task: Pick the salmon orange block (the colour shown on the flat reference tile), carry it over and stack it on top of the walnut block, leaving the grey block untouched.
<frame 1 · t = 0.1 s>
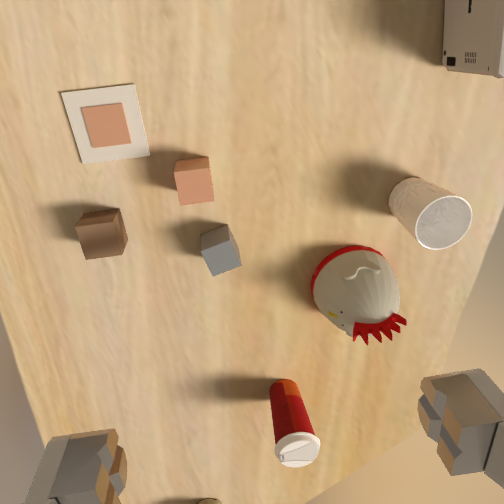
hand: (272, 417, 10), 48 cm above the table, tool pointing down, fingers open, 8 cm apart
paper cup: (283, 388, 78), on the table
grey block: (219, 241, 61), on the table
walnut block: (106, 226, 58), on the table
white cup: (408, 197, 61), on the table
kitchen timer: (350, 281, 68), on the table
reference tile: (108, 125, 51), on the table
salmon orange block: (195, 174, 56), on the table
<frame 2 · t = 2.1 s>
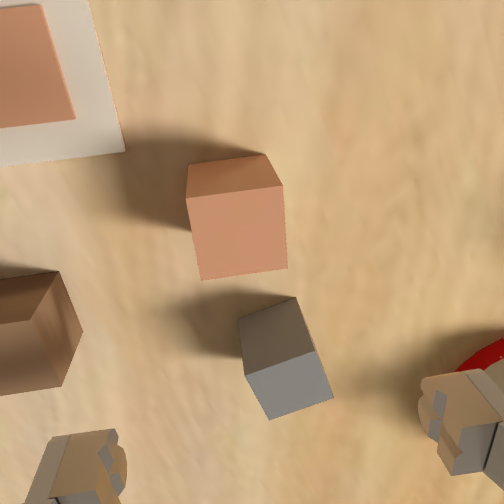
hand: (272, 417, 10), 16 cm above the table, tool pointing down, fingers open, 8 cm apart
grey block: (276, 330, 29), on the table
walnut block: (33, 307, 26), on the table
reference tile: (11, 70, 19), on the table
salmon orange block: (232, 195, 24), on the table
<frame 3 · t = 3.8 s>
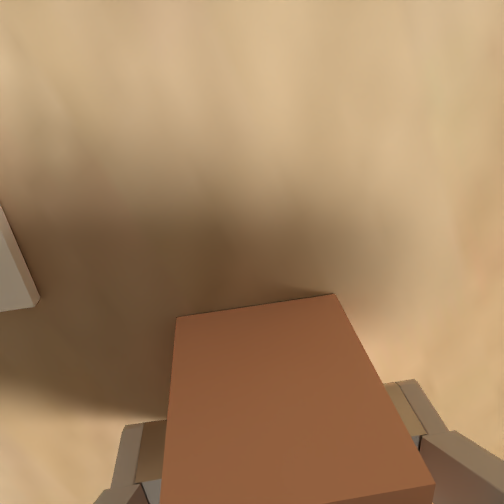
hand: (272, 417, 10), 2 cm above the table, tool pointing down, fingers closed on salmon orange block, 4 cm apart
salmon orange block: (263, 364, 12), on the table, touching gripper
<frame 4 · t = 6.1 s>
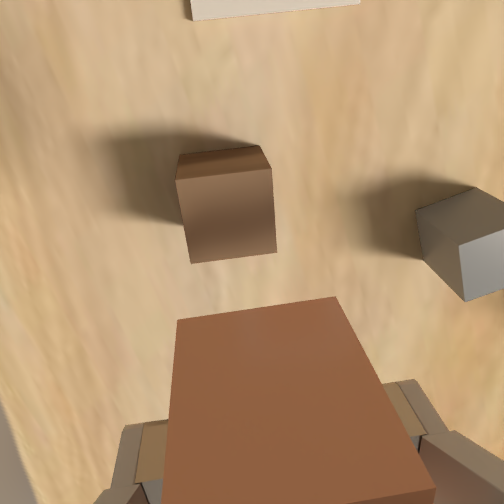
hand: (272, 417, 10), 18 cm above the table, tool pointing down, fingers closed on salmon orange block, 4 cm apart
grey block: (448, 225, 29), on the table
walnut block: (224, 187, 26), on the table
salmon orange block: (263, 366, 12), point 16 cm above the table, touching gripper
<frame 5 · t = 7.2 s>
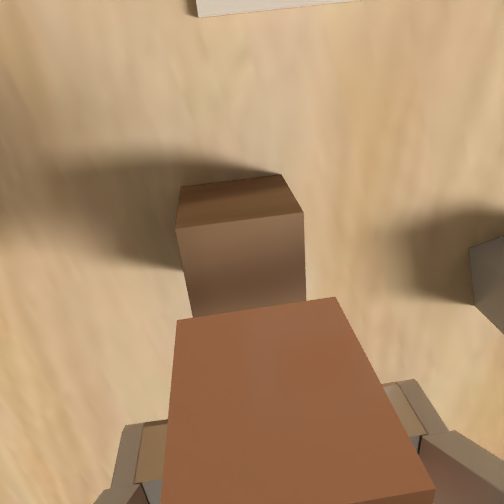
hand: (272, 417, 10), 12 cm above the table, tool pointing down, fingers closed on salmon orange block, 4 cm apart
walnut block: (236, 225, 21), on the table
salmon orange block: (263, 367, 12), point 10 cm above the table, touching gripper
when the fingers open (8 cm above the table, at t = 8.2 s): salmon orange block drops 1 cm, resting on walnut block.
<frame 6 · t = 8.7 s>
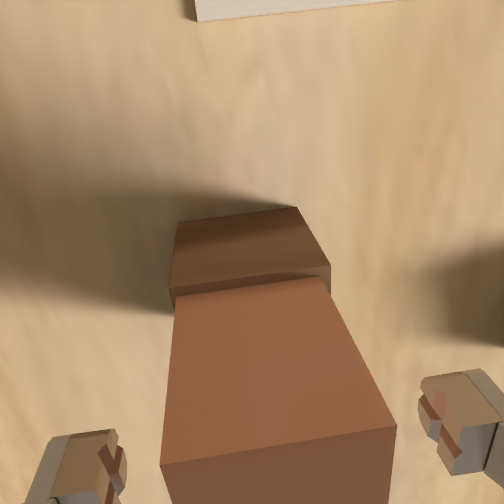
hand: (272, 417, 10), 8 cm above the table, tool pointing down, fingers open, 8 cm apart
walnut block: (243, 266, 18), on the table, touching salmon orange block
salmon orange block: (255, 342, 13), point 5 cm above the table, touching walnut block
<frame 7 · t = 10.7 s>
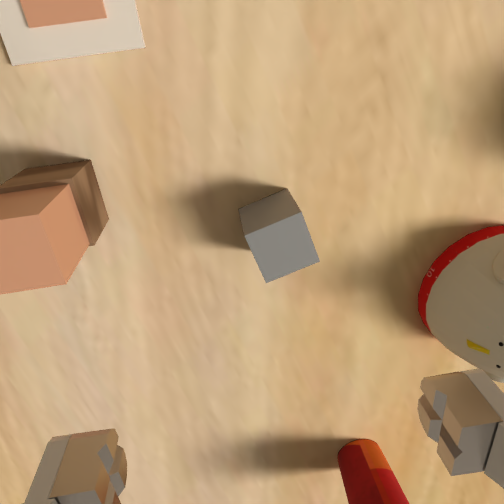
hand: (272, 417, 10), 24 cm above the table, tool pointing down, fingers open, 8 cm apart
paper cup: (358, 452, 51), on the table
grey block: (271, 220, 35), on the table
walnut block: (68, 194, 32), on the table, touching salmon orange block
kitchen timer: (481, 285, 41), on the table
salmon orange block: (46, 219, 27), point 5 cm above the table, touching walnut block
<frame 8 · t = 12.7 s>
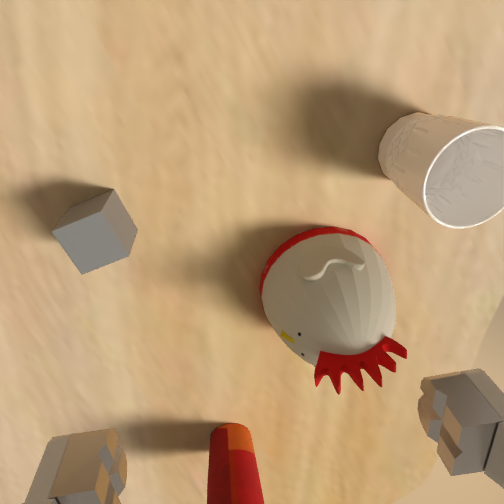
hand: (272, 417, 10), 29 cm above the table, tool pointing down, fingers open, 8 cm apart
paper cup: (230, 435, 55), on the table
grey block: (105, 218, 38), on the table
white cup: (410, 148, 38), on the table
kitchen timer: (320, 282, 44), on the table
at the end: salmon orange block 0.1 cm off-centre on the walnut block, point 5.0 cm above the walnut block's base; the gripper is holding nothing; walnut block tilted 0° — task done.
